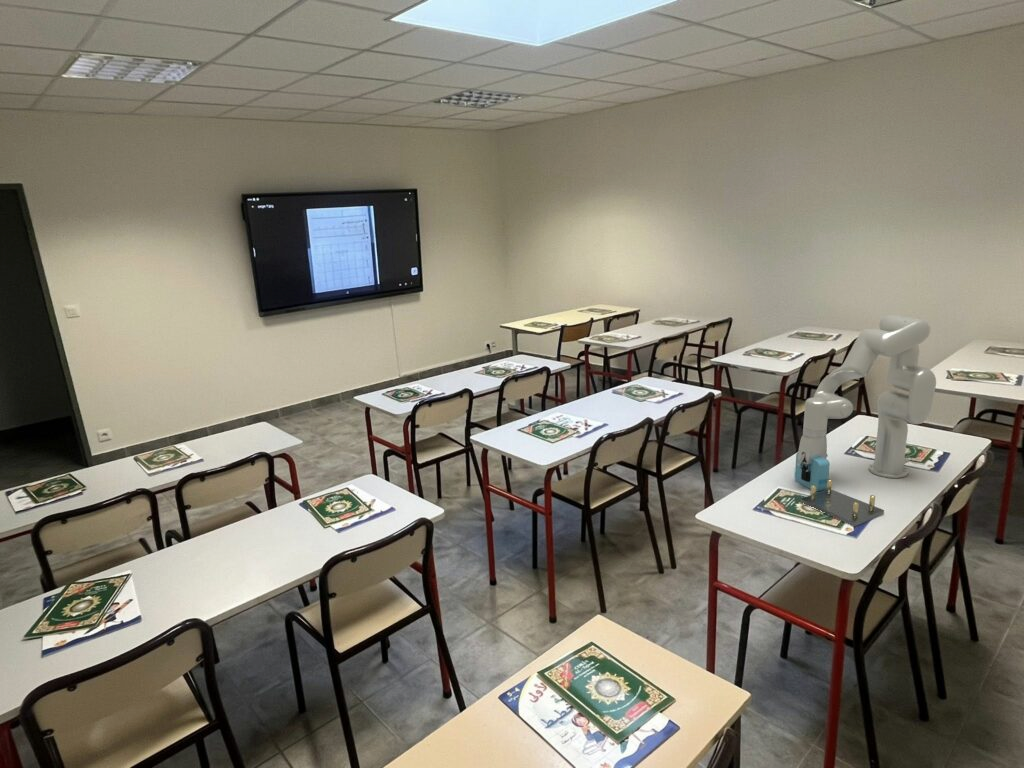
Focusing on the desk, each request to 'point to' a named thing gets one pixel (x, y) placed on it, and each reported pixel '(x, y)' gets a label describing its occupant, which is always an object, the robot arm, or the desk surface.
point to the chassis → (842, 505)
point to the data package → (815, 473)
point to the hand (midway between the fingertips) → (811, 478)
